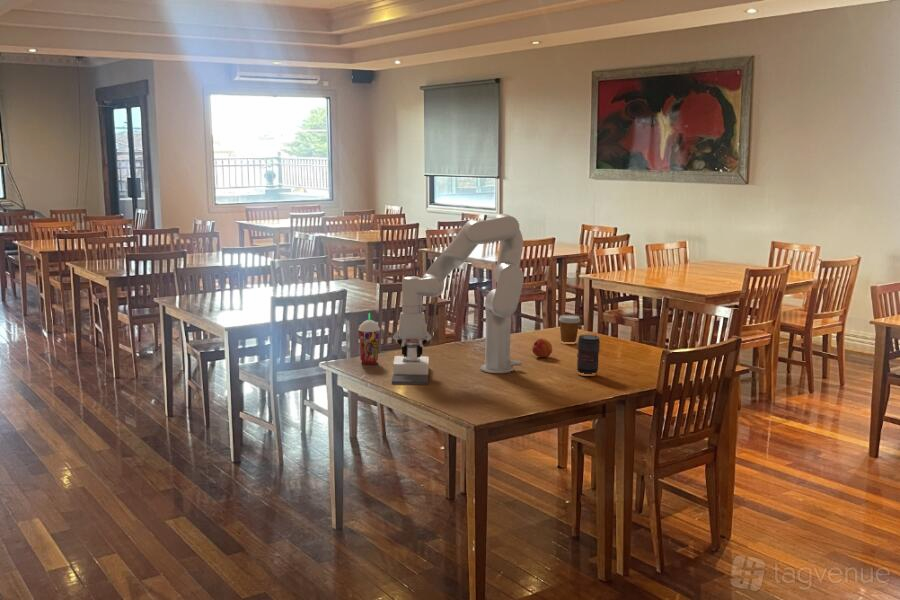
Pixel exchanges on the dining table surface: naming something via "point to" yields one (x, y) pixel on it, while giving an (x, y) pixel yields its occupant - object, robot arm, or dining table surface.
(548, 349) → the fruit
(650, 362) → the dining table surface
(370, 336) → the smoothie
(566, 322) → the disposable coffee cup
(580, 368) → the camera lens
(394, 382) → the rubber pad
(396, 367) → the socket block
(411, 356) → the steel plug
